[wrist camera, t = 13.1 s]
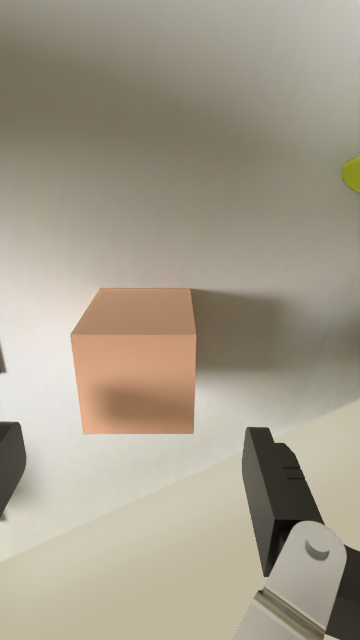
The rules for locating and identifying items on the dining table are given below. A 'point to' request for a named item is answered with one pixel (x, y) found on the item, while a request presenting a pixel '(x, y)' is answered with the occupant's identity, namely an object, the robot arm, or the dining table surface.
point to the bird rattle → (352, 174)
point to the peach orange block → (136, 362)
